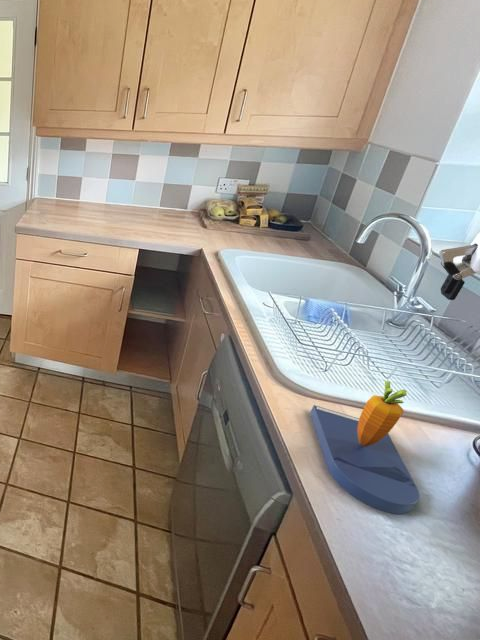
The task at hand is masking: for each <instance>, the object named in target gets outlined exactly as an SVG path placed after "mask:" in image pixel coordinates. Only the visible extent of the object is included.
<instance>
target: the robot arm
mask: <svg viewBox="0 0 480 640" xmlns="http://www.w3.org/2000/svg"><path fill="white" fill-rule="evenodd" d="M438 254H439V259H440V265H441V266H442V268H443V269H444V270H445V272H446V273H447V276H446V278H445V280H444V282H443V283H442V285H441V287H440V294H441V295H442V296H443V297H444V298H446V299H447V300H449V301H454V300H456V298H457V297H458V295H459V293H460V292H461V290H462V288H463V286H464V284H465V281H464V280H463V279H465V278H467V277H470V276H472V275H475V274H478V275H480V231H479V232H478V233H477V235H476V236H475V237H474V239H473V240H472V241H471V243H470V245H463V246H457V247H452V248H444V249H441V250H439V253H438ZM458 257H462V258H461V262H460V263H458V264H456V265H455V264H454V258H458Z"/></svg>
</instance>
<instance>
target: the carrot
mask: <svg viewBox="0 0 480 640" xmlns="http://www.w3.org/2000/svg"><path fill="white" fill-rule="evenodd" d="M393 391H394V390H393V388H391V382H390V381H389V380H385V381H384V393H383V395H377V394H375V395H372V396H371V397H369V399H368V400H367V401H366V404H365V405H364V407H363V409H362V412H361V413H360V416H359V417H358V418H359V422H358V427H357V436H358V440H359V443H360V444H361V446H369V445H372V444H374V443H376V442H378V441H380V440H381V439H382V438H383V437H384V436H385V435H386V434H389V433H390V432H391V431H392V429H393V428H394V427H395V425H396V424H397V423H398V422H399V420H400V418H401V417H402V416H403V414H404V408H403V407H402V406H401V405H400V404H404V403H405V402H404V400H401V398H403V397H406V396H407V395H408V394H407V392H408V391H407V390H406V389H400V390H397V391H396V392H394V393H392V392H393Z"/></svg>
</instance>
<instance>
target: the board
mask: <svg viewBox="0 0 480 640" xmlns="http://www.w3.org/2000/svg"><path fill="white" fill-rule="evenodd" d="M309 416H310V419H311V422H312V425H313V428H314V431H315V434H316V437H317V440H318V443H319V446H320V449H321V452H322V455H323V458H324V461H325V465H326V467H327V469H328V472H329V474H330V475H331V477H332V478H333V480H334V481H335V482H336V483H337V484H338V485H339V486H340V487H341V488H342V489H343V490H344V491H346V492H347V493H348V494H350V495H351V496H352V497H354V498H355V499H357V500H359V501H360V502H362V503H364V504H366V505H367V506H369V507H372V508H374V509H376V510H378V511H382V512H385V513H389V514H395V515H403V514H407V513H409V512H411V511H412V509H414V507H415V506H416V504H417V503H418V501H419V499H420V492H419V488H418V486H417V485H416V482H415V481H414V479H413V477H412V476H411V473H410V472H409V470H408V468H407V466H406V464H405V463H404V460H403V459H402V457H401V455H400V453H399V452H398V449H397V447H396V446H395V444H394V442H393V440H392V438H391V435H390V434H389V433H388V434H386V435H385V436H384V437H383V438H382V439H381V440H380V441H378V442H376V443H374V444H372V445H369V446H361V444H360V443H359V440H358V436H357V427H358V422H359V418H360V417H355V416H352V415H349V414H345V413H341V412H338V411H335V410H331V409H329V408H325V407H321V406H318V405H315V404H313V406H312V408H311V410H310V412H309Z"/></svg>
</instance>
